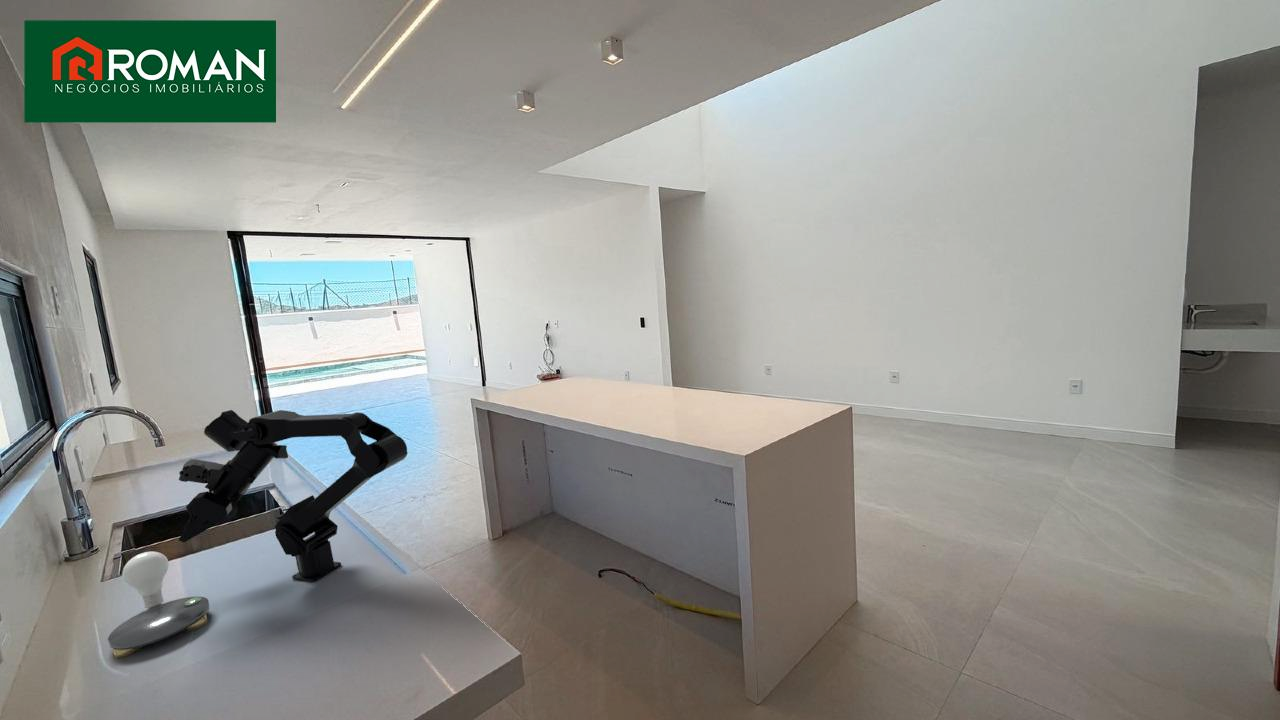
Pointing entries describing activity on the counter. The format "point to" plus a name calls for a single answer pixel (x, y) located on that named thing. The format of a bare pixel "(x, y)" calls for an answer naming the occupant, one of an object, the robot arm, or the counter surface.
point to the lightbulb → (147, 576)
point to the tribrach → (158, 624)
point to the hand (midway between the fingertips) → (190, 531)
